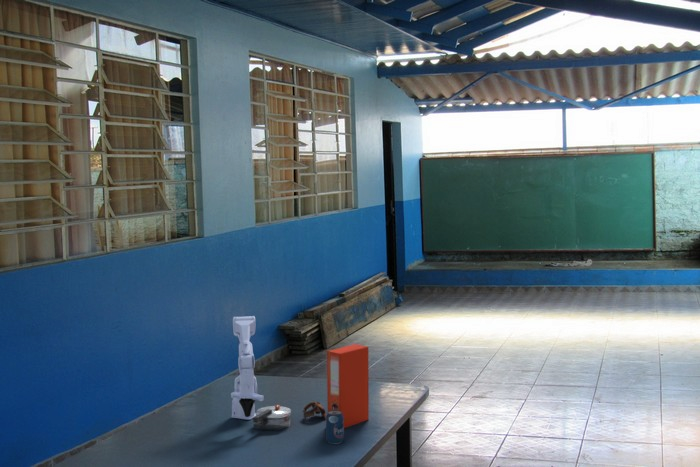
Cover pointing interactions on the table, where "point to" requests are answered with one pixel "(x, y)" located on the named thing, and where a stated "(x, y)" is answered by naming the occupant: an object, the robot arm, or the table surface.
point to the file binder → (349, 383)
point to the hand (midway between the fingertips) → (247, 416)
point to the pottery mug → (314, 409)
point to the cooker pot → (273, 423)
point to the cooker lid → (271, 413)
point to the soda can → (335, 427)
